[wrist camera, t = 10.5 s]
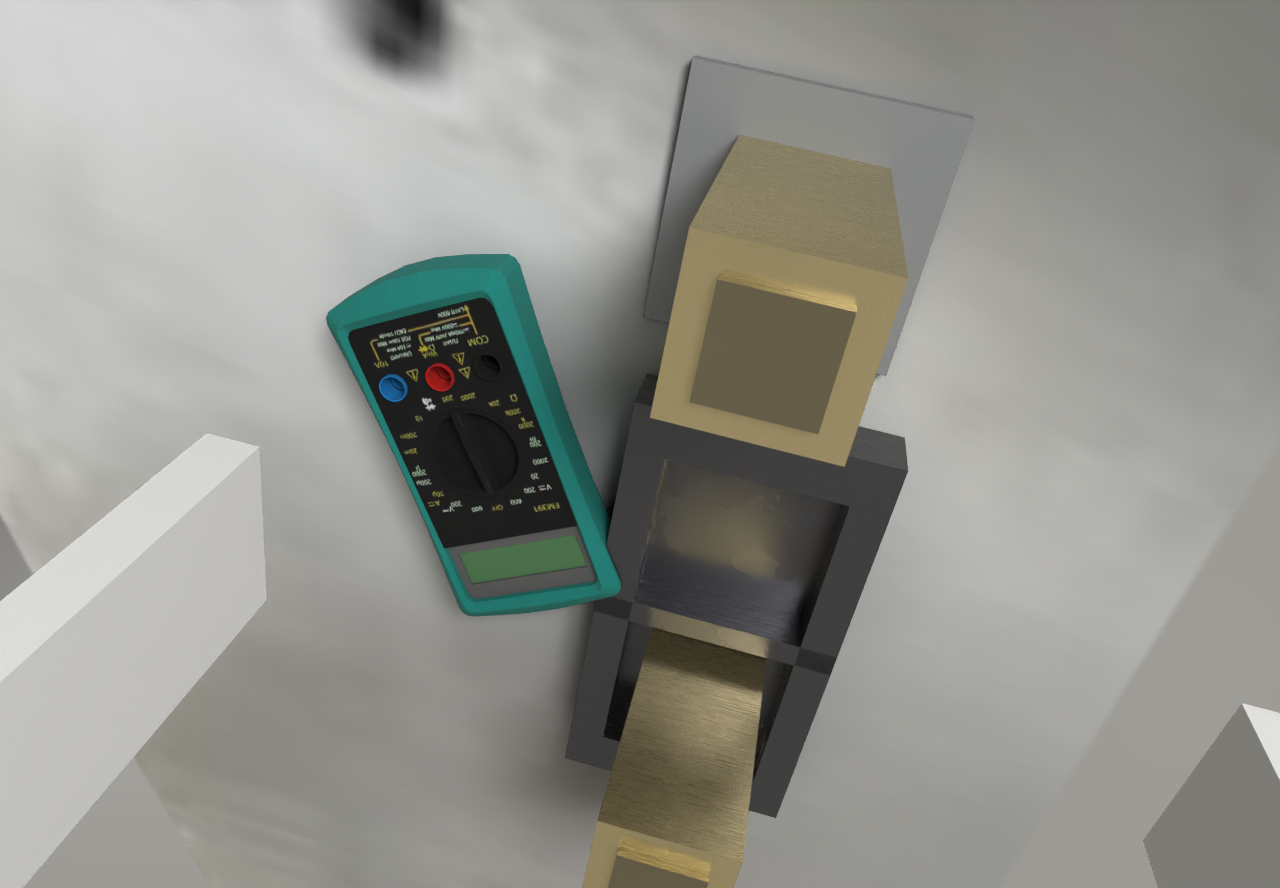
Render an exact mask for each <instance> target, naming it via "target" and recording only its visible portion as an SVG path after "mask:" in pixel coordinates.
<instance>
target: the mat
mask: <svg viewBox="0 0 1280 888" xmlns="http://www.w3.org/2000/svg"><path fill="white" fill-rule="evenodd" d="M974 120H975V119H974V118H973V116H969V115H965V114H960V113H955V112H951V111H946V110H942V109H937V108H933V107H928V106H923V105H919V104H914V103H910V102H905V101H901V100H896V99H891V98H887V97H882V96H878V95H873V94H868V93H864V92H859V91H855V90H850V89H846V88H841V87H836V86H832V85H827V84H823V83H818V82H813V81H809V80H804V79H800V78H795V77H791V76H786V75H781V74H777V73H772V72H768V71H763V70H758V69H754V68H749V67H745V66H740V65H736V64H731V63H726V62H722V61H717V60H713V59H708V58H703V57H699V56H694V57H693V58H692V63H691V68H690V74H689V79H688V84H687V89H686V95H685V100H684V105H683V110H682V116H681V121H680V126H679V132H678V137H677V142H676V147H675V153H674V158H673V163H672V168H671V174H670V179H669V184H668V189H667V195H666V200H665V205H664V210H663V216H662V221H661V226H660V231H659V237H658V242H657V247H656V252H655V258H654V263H653V268H652V273H651V279H650V284H649V289H648V294H647V300H646V305H645V310H644V315H643V317H645V318H649V319H653V320H657V321H662V322H666V323H670V318H671V313H672V308H673V303H674V298H675V294H676V289H677V284H678V279H679V274H680V269H681V264H682V260H683V255H684V250H685V245H686V240H687V235H688V231H689V227H690V225H691V223H692V221H693V219H694V217H695V216H696V214H697V212H698V210H699V208H700V206H701V204H702V203H703V201H704V199H705V197H706V195H707V193H708V192H709V190H710V188H711V186H712V184H713V182H714V181H715V179H716V177H717V175H718V173H719V171H720V170H721V168H722V166H723V164H724V162H725V160H726V158H727V157H728V155H729V153H730V151H731V149H732V147H733V146H734V144H735V142H736V140H737V138H738V136H739V135H744V136H749V137H753V138H757V139H762V140H766V141H771V142H775V143H780V144H784V145H789V146H793V147H798V148H802V149H806V150H811V151H815V152H820V153H824V154H829V155H833V156H838V157H842V158H847V159H851V160H855V161H860V162H864V163H869V164H873V165H878V166H882V167H887V168H891V172H892V178H893V185H894V191H895V197H896V203H897V209H898V216H899V222H900V228H901V234H902V241H903V247H904V253H905V259H906V265H907V272H908V278H909V279H908V282H907V285H906V287H905V290H904V293H903V296H902V299H901V302H900V305H899V308H898V311H897V314H896V317H895V320H894V323H893V326H892V329H891V332H890V335H889V338H888V341H887V343H886V346H885V349H884V352H883V355H882V358H881V361H880V364H879V367H878V370H877V373H876V374H879V375H884V376H886V375H887V372H888V369H889V366H890V363H891V360H892V357H893V354H894V351H895V349H896V346H897V343H898V340H899V337H900V334H901V331H902V328H903V325H904V323H905V320H906V317H907V314H908V311H909V308H910V305H911V302H912V299H913V296H914V294H915V291H916V288H917V285H918V282H919V279H920V276H921V273H922V270H923V268H924V265H925V262H926V259H927V256H928V253H929V250H930V247H931V244H932V242H933V239H934V236H935V233H936V230H937V227H938V224H939V221H940V218H941V215H942V213H943V210H944V207H945V204H946V201H947V198H948V195H949V192H950V189H951V187H952V184H953V181H954V178H955V175H956V172H957V169H958V166H959V163H960V160H961V158H962V155H963V152H964V149H965V146H966V143H967V140H968V137H969V134H970V132H971V129H972V126H973V123H974Z"/></svg>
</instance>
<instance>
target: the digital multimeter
mask: <svg viewBox="0 0 1280 888" xmlns="http://www.w3.org/2000/svg"><path fill="white" fill-rule="evenodd" d="M326 319H327V324H328V327H329V329H330V330H331V332H332V334H333V336H334V338H335V340H336V342H337V344H338V345H339V347H340V349H341V351H342V353H343V355H344V357H345V359H346V361H347V362H348V364H349V366H350V368H351V370H352V372H353V374H354V376H355V378H356V379H357V381H358V383H359V385H360V387H361V389H362V391H363V393H364V395H365V397H366V399H367V401H368V403H369V405H370V407H371V409H372V411H373V413H374V415H375V417H376V419H377V421H378V423H379V425H380V427H381V429H382V431H383V433H384V435H385V437H386V439H387V441H388V443H389V445H390V447H391V449H392V451H393V453H394V455H395V457H396V459H397V461H398V463H399V466H400V468H401V470H402V472H403V475H404V477H405V479H406V481H407V484H408V486H409V488H410V490H411V492H412V495H413V497H414V499H415V501H416V504H417V506H418V508H419V510H420V513H421V515H422V517H423V519H424V522H425V524H426V526H427V528H428V531H429V533H430V536H431V538H432V541H433V543H434V546H435V548H436V551H437V553H438V556H439V558H440V561H441V563H442V565H443V568H444V570H445V573H446V575H447V578H448V580H449V583H450V585H451V588H452V590H453V593H454V595H455V598H456V600H457V603H458V605H459V608H460V609H461V610H462V612H463V613H465V614H467V615H469V616H489V615H507V614H519V613H530V612H537V611H544V610H551V609H558V608H562V607H567V606H572V605H577V604H582V603H586V602H590V601H595V600H599V599H603V598H607V597H611V596H614V595H616V594H618V592H619V591H620V589H621V581H620V579H619V576H618V574H617V572H616V569H615V567H614V565H613V562H612V560H611V558H610V555H609V553H608V551H607V548H606V546H607V541H608V535H609V530H610V525H611V520H610V518H609V516H608V513H607V511H606V509H605V506H604V504H603V502H602V499H601V497H600V495H599V492H598V490H597V488H596V485H595V483H594V480H593V478H592V475H591V473H590V470H589V467H588V465H587V462H586V460H585V457H584V454H583V452H582V449H581V447H580V444H579V441H578V439H577V436H576V434H575V431H574V428H573V426H572V423H571V421H570V418H569V415H568V413H567V410H566V407H565V404H564V401H563V398H562V395H561V392H560V389H559V386H558V383H557V380H556V377H555V374H554V371H553V368H552V365H551V362H550V359H549V356H548V353H547V350H546V347H545V344H544V341H543V338H542V335H541V332H540V329H539V326H538V323H537V319H536V316H535V313H534V310H533V306H532V303H531V300H530V297H529V293H528V290H527V287H526V284H525V280H524V277H523V274H522V271H521V267H520V264H519V263H518V261H517V260H516V258H514V257H513V256H511V255H509V254H467V255H457V256H446V257H435V258H432V259H428V260H424V261H421V262H417V263H413V264H410V265H406V266H404V267H402V268H400V269H397V270H395V271H393V272H391V273H389V274H387V275H385V276H383V277H381V278H379V279H377V280H375V281H374V282H372V283H370V284H369V285H367V286H366V287H364V288H362V289H361V290H359V291H357V292H356V293H354V294H352V295H351V296H349V297H348V298H347V299H345V300H344V301H343V302H341V303H340V304H339V305H337V306H336V307H335V308H333V309H332V310H331V311H329V312H328V315H327V317H326Z"/></svg>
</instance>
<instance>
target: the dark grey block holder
mask: <svg viewBox="0 0 1280 888" xmlns="http://www.w3.org/2000/svg"><path fill="white" fill-rule="evenodd" d="M657 381H658V376H654V375H650V374H647V376H646V378H645V380H644V383H643V385H642V387H641V389H640V391H639V393H638V396H637V398H636V400H635V402H634V407H633V412H632V417H631V423H630V428H629V433H628V438H627V443H626V448H625V453H624V458H623V464H622V469H621V474H620V479H619V484H618V489H617V494H616V500H615V505H614V510H613V515H612V520H611V525H610V530H609V535H608V541H607V546H606V548H607V551H608V553H609V555H610V558H611V560H612V562H613V565H614V567H615V569H616V572H617V574H618V576H619V579H620V581H621V589H620V591H619V592H618V594H616V595H614V596H611V597H607V598H603V599H599V600H596V602H595V607H594V612H593V618H592V623H591V628H590V633H589V638H588V643H587V648H586V653H585V659H584V664H583V669H582V674H581V679H580V684H579V689H578V694H577V700H576V705H575V710H574V715H573V720H572V725H571V730H570V735H569V741H568V746H567V751H566V756H565V758H568V759H571V760H575V761H578V762H582V763H585V764H589V765H592V766H596V767H599V768H603V769H606V770H610V771H612V768H613V765H614V761H615V758H616V754H617V751H618V747H619V743H620V740H621V736H622V733H623V729H624V726H625V722H626V719H627V715H628V712H629V708H630V705H631V701H632V698H633V694H634V691H635V687H636V684H637V680H638V677H639V673H640V670H641V666H642V663H643V659H644V656H645V652H646V649H647V645H648V642H649V638H650V635H651V631H652V628H653V627H654V628H658V629H661V630H665V631H669V632H672V633H676V634H680V635H683V636H687V637H691V638H694V639H698V640H702V641H705V642H709V643H713V644H716V645H720V646H724V647H728V648H731V649H735V650H739V651H742V652H746V653H750V654H753V655H757V656H761V657H764V658H766V666H765V675H764V683H763V692H762V700H761V709H760V717H759V726H758V734H757V743H756V751H755V760H754V768H753V777H752V785H751V794H750V803H749V810H750V811H753V812H757V813H760V814H764V815H767V816H771V817H774V818H776V816H777V814H778V811H779V808H780V806H781V803H782V800H783V798H784V795H785V793H786V790H787V787H788V785H789V782H790V779H791V777H792V774H793V772H794V769H795V766H796V764H797V761H798V758H799V756H800V753H801V751H802V748H803V745H804V743H805V740H806V737H807V735H808V732H809V730H810V727H811V724H812V722H813V719H814V717H815V714H816V711H817V709H818V706H819V703H820V701H821V698H822V696H823V693H824V690H825V688H826V685H827V682H828V680H829V677H830V675H831V672H832V669H833V667H834V664H835V661H836V659H837V656H838V654H839V651H840V648H841V646H842V643H843V640H844V638H845V635H846V633H847V630H848V627H849V625H850V622H851V619H852V617H853V614H854V612H855V609H856V606H857V604H858V601H859V598H860V596H861V593H862V591H863V588H864V585H865V583H866V580H867V577H868V575H869V572H870V570H871V567H872V564H873V562H874V559H875V556H876V554H877V551H878V549H879V546H880V543H881V541H882V538H883V535H884V533H885V530H886V528H887V525H888V522H889V520H890V517H891V514H892V512H893V509H894V507H895V504H896V501H897V499H898V496H899V493H900V491H901V488H902V486H903V483H904V480H905V478H906V475H907V472H908V466H907V456H906V446H905V438H903V437H899V436H895V435H891V434H887V433H883V432H879V431H875V430H871V429H867V428H863V427H859V426H858V429H857V432H856V435H855V438H854V441H853V444H852V447H851V450H850V453H849V456H848V458H847V461H846V464H845V467H843V466H839V465H835V464H831V463H828V462H824V461H820V460H816V459H812V458H808V457H804V456H800V455H796V454H792V453H788V452H784V451H780V450H776V449H772V448H768V447H764V446H760V445H756V444H752V443H748V442H744V441H740V440H736V439H732V438H728V437H725V436H721V435H717V434H713V433H709V432H705V431H701V430H697V429H693V428H689V427H685V426H681V425H677V424H673V423H669V422H665V421H661V420H657V419H653V418H650V415H651V410H652V405H653V400H654V395H655V390H656V386H657Z"/></svg>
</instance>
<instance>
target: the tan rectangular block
mask: <svg viewBox="0 0 1280 888" xmlns="http://www.w3.org/2000/svg"><path fill="white" fill-rule="evenodd" d="M908 279H909V278H908V272H907V265H906V259H905V253H904V247H903V241H902V234H901V228H900V222H899V216H898V209H897V203H896V197H895V191H894V185H893V178H892V172H891V168H887V167H882V166H878V165H873V164H869V163H864V162H860V161H855V160H851V159H847V158H842V157H838V156H833V155H829V154H824V153H820V152H815V151H811V150H806V149H802V148H798V147H793V146H789V145H784V144H780V143H775V142H771V141H766V140H762V139H757V138H753V137H749V136H744V135H739V136H738V138H737V140H736V142H735V144H734V146H733V147H732V149H731V151H730V153H729V155H728V157H727V158H726V160H725V162H724V164H723V166H722V168H721V170H720V171H719V173H718V175H717V177H716V179H715V181H714V182H713V184H712V186H711V188H710V190H709V192H708V193H707V195H706V197H705V199H704V201H703V203H702V204H701V206H700V208H699V210H698V212H697V214H696V216H695V217H694V219H693V221H692V223H691V225H690V227H689V231H688V235H687V240H686V245H685V250H684V255H683V260H682V264H681V269H680V274H679V279H678V284H677V289H676V294H675V298H674V303H673V308H672V313H671V318H670V323H669V327H668V332H667V337H666V342H665V347H664V352H663V356H662V361H661V366H660V371H659V376H658V381H657V386H656V390H655V395H654V400H653V405H652V410H651V415H650V418H653V419H657V420H661V421H665V422H669V423H673V424H677V425H681V426H685V427H689V428H693V429H697V430H701V431H705V432H709V433H713V434H717V435H721V436H725V437H728V438H732V439H736V440H740V441H744V442H748V443H752V444H756V445H760V446H764V447H768V448H772V449H776V450H780V451H784V452H788V453H792V454H796V455H800V456H804V457H808V458H812V459H816V460H820V461H824V462H828V463H831V464H835V465H839V466H843V467H845V464H846V461H847V458H848V456H849V453H850V450H851V447H852V444H853V441H854V438H855V435H856V432H857V429H858V426H859V423H860V420H861V417H862V414H863V411H864V408H865V405H866V402H867V400H868V397H869V394H870V391H871V388H872V385H873V382H874V379H875V376H876V373H877V370H878V367H879V364H880V361H881V358H882V355H883V352H884V349H885V346H886V343H887V341H888V338H889V335H890V332H891V329H892V326H893V323H894V320H895V317H896V314H897V311H898V308H899V305H900V302H901V299H902V296H903V293H904V290H905V287H906V285H907V282H908Z"/></svg>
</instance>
